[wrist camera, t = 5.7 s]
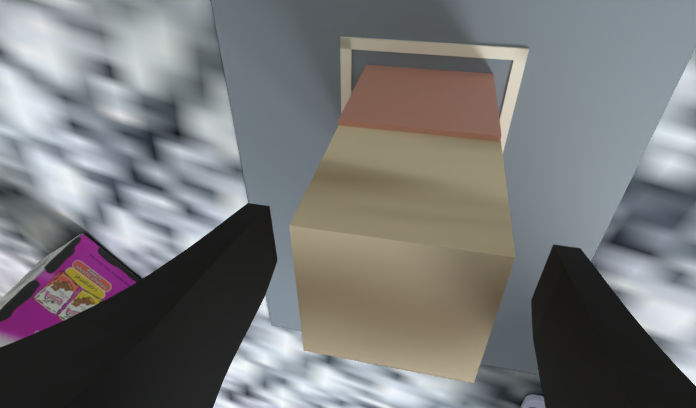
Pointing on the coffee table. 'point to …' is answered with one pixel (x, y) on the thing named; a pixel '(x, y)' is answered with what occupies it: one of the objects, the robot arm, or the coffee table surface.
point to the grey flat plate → (512, 99)
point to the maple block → (403, 250)
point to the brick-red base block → (424, 102)
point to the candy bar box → (61, 288)
